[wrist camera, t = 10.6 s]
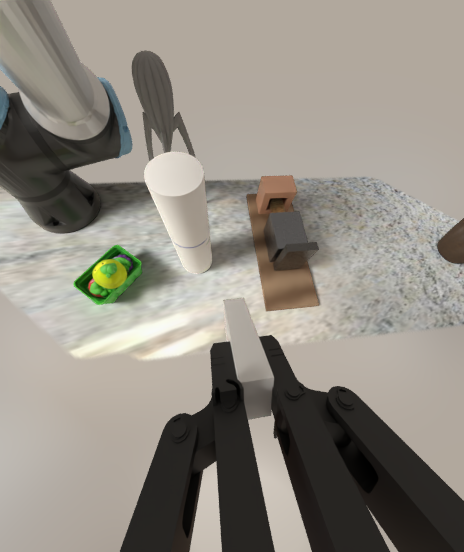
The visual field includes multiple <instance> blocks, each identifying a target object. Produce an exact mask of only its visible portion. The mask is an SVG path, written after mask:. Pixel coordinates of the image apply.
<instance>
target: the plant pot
mask: <svg viewBox="0 0 464 552" xmlns="http://www.w3.org/2000/svg"><path fill="white" fill-rule="evenodd" d="M438 251H439V253H440V254H441V255H442V256H443V257H444V258H445V259H446V260H448V261H449V262H452V263H464V218H463V219H462V220H461V221H460V222H459V223H457V224H456V225H455V226H454V227H453V228H452V229H451V230H450V231H449V232H448V233H447V234H446V235H445V236H444V237H443V238H442V239H441V240H440V241H439V242H438Z"/></svg>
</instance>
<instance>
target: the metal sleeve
mask: <svg viewBox="0 0 464 552" xmlns="http://www.w3.org/2000/svg"><path fill="white" fill-rule="evenodd" d="M263 231H264V236H265V241H266V247H267V252H268V257H269V262H275V261H276V259H277V258H278V256H279V255H280V253H281V251H282V250H283V249H284V247H285V246H286V244H297V243H308V241H307V237H306V234H305V230H304V226H303V223H302V219H301V216H300V212H299V211H298V212H278V213H270V215H269V217H268V220H267V222H266V225H265V227H264V230H263Z"/></svg>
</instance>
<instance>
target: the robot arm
mask: <svg viewBox="0 0 464 552" xmlns="http://www.w3.org/2000/svg"><path fill="white" fill-rule="evenodd" d="M0 70H1V71H2V72H3V73H4V74H5V75H6V76H7V77H8V78H9V79H10V80H11V81H12V82H13V83H14V84H15V85H16V86H17V87H18V88H19V92H18V93H12V94H7V92H6V91H5V90H4V89H3V88H2V87H1V86H0V187H2V188H3V189H4V190H6V191H7V192H8V193H10V194H11V195H12V196H14V197H15V198H16V199H17V200H18V201H19V202H20V204H21V205H22V207H23V208H24V210H25V211H26V212H27V214H28V215H29V217H30V218H31V219H32V220H33V221H34V222H35V223H36V224H38V225H39V226H40V227H42V228H43V229H45V230H47V231H50V232H54V233H68V232H73V231H76V230H79V229H81V228H83V227H85V226H86V225H88V224H89V223H90V222H91V221H92V220H93V219H94V218H95V217H96V216H97V214H98V212H99V210H100V204H101V203H100V198H99V195H98V194H97V192H96V191H95V190H94V189H93V187H92V186H91V185H90V184H89V183H87V182H86V181H84V180H83V179H82V178H80V177H78V176H77V175H76V174H74V173H73V172H71V171H70V169H74V168H78V167H82V166H85V165H89V164H93V163H97V162H100V161H105V160H108V159H112V158H119V157H121V156H122V155H125V154H128V153H130V152H131V150H132V139H131V135H130V131H129V129H128V127H127V122H126V118H125V116H124V113H123V110H122V108H121V105H120V103H119V100H118V98H117V96H116V94H115V91H114V90H113V88H112V86H111V84H110V83H109V82H108V81H107V80H106V79H105V78H99V77H97V76H96V75H95V74H94V73H93V72H92V71H91V70H90V69H89V68H88V67H86V66H85V65H84V64H82V63H81V62H80V60H79V57H78V56H77V54H76V51H75V49H74V47H73V45H72V44H71V41H70V39H69V37H68V35H67V33H66V31H65V29H64V27H63V25H62V23H61V21H60V19H59V17H58V15H57V12H56V10H55V8H54V6H53V4H52V2H51V0H0ZM223 303H224V318H225V331H226V337H227V342H221V343H213V346H212V348H211V350H210V354H211V371H212V398H211V401H210V402H209V404H208V405H207V406H206V407H205V408H204V409H202V410H201V411H199V412H197V413H196V414H194V415H192V416H191V415H189V414H186V413H183V414H178V415H176V416H174V417H172V418H171V419H170V420H169V421H168V423H167V424H166V426H165V428H164V430H163V432H162V435H161V438H160V440H159V443H158V446H157V449H156V452H155V455H154V458H153V460H152V463H151V466H150V468H149V472H148V474H147V477H146V480H145V482H144V485H143V488H142V491H141V494H140V496H139V499H138V502H137V505H136V508H135V510H134V513H133V516H132V519H131V522H130V525H129V527H128V530H127V533H126V536H125V538H124V541H123V544H122V547H121V550H120V552H189V551H190V545H191V538H192V533H193V527H194V521H195V515H196V510H197V503H198V498H199V492H200V486H201V480H202V474H203V470H204V469H205V468H207V467H208V466H209V465H211V464H212V463H214V462H215V461H217V475H218V493H219V509H220V525H221V542H222V552H275V550H274V545H273V541H272V536H271V531H270V526H269V522H268V516H267V511H266V506H265V502H264V497H263V492H262V487H261V482H260V477H259V473H258V467H257V462H256V457H255V452H254V448H253V443H252V438H251V433H250V428H249V424H248V420H249V419H255V418H260V417H265V416H271V410H272V412H273V415H274V419H275V423H274V438H277V437H278V440H279V444H280V447H281V450H282V454H283V457H284V460H285V464H286V467H287V470H288V474H289V477H290V480H291V484H292V487H293V490H294V493H295V497H296V500H297V503H298V507H299V510H300V513H301V517H302V520H303V523H304V526H305V529H306V533H307V536H308V540H309V543H310V547H311V550H312V552H390V551H389V549H388V547H387V545H386V543H385V541H384V539H383V537H382V535H381V533H380V531H379V529H378V527H377V525H376V523H375V521H374V519H373V518H372V516H371V514H370V512H369V510H370V511H371V513H372V514H373V515H374V517H375V518H376V520H377V521H378V523H379V524H380V526H381V527H382V528H383V530H384V531H385V533H386V534H387V536H388V537H389V539H390V540H391V541H392V543H393V544H394V546H395V547H396V549H397V550H398V552H464V501H463V500H462V499H461V498H460V497H459V496H458V495H457V494H456V493H455V492H454V491H453V490H452V489H451V488H450V487H449V486H448V485H447V484H446V483H445V482H444V481H443V480H442V479H441V478H440V477H439V476H438V475H437V474H436V473H435V472H434V471H433V470H432V469H431V468H430V467H429V466H428V465H427V464H426V463H425V462H424V461H423V460H422V459H421V458H420V457H419V456H418V455H417V454H416V453H415V452H414V451H413V450H412V449H411V448H410V447H409V446H408V445H407V444H406V443H405V442H403V440H402V439H401V438H400V437H399V436H398V435H397V434H395V432H393V430H392V429H391V428H389V427H388V425H387V424H386V423H384V422H383V420H381V419H380V418H379V417H378V416H377V415H376V414H375V413H374V412H373V411H372V410H371V409H370V408H369V407H368V406H367V405H366V404H365V403H364V402H363V401H362V400H361V399H360V398H359V397H358V396H357V395H356V394H355V393H354V392H352V391H351V390H349V389H347V388H345V387H340V386H336V387H332V388H331V389H330V390H329V392H328V393H327V392H321V391H315V390H311V389H308V388H306V387H305V386H304V385H303V384H301V383H300V382H299V381H298V380H297V379H296V377H295V375H294V373H293V371H292V369H291V367H290V365H289V363H288V361H287V359H286V357H285V355H284V353H283V350H282V349H281V346H280V344H279V342H278V341H277V340H276V339H275V338H274V337H273V336H272V335H269V336H262V337H259V336H258V334H257V331H256V328H255V326H254V323H253V320H252V318H251V315H250V313H249V310H248V307H247V305H246V302H245V299H244V298H237V299H227V300H223ZM366 505H367V506H366ZM367 507H368V508H369V510H368V508H367Z"/></svg>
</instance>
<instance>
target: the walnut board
mask: <svg viewBox="0 0 464 552" xmlns="http://www.w3.org/2000/svg"><path fill="white" fill-rule="evenodd" d="M256 196H257V194H247V203H248V209H249V215H250V220H251V226H252V232H253V238H254V244H255V249H256V255H257V261H258V267H259V273H260V278H261V284H262V290H263V296H264V302H265V307H266V311H274V310H284V309H293V308H303V307H313V306H318V305H319V303H318V299H317V296H316V292H315V288H314V284H313V281H312V277H311V273H310V269H309V265H308V262H306V263H305V264H304V265H303V266H302V267H301V268H299V269H290V270H278V271H274V267H273V264H274V262H269V257H268V252H267V247H266V241H265V236H264V231H263V230H264V227H265V225H266V222H267V220H268V217H269V215H270V214H259V213H258V208H257V203H256ZM287 212H294V209H293V205H292V203H291V205H290V207H289V209H288V211H287Z"/></svg>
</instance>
